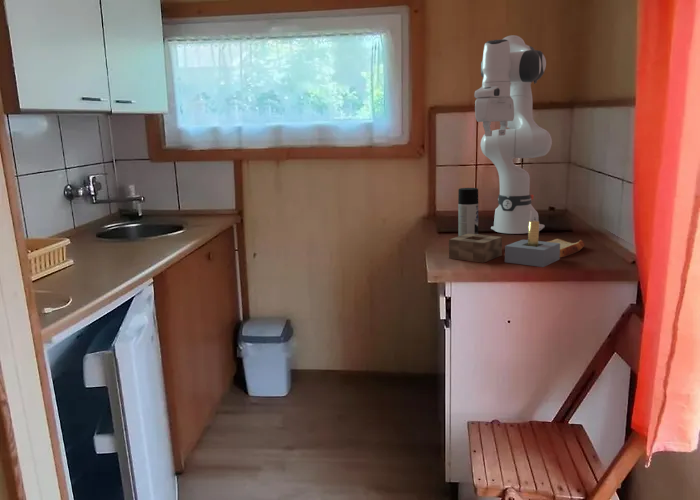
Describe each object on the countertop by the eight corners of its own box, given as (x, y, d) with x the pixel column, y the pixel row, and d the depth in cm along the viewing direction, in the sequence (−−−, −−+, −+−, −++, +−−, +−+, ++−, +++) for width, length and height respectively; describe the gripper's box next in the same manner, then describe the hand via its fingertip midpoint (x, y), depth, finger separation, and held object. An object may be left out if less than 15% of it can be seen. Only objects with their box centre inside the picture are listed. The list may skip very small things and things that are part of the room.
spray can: (478, 248, 195) (478, 189, 191) (457, 248, 196) (458, 189, 192) (478, 244, 201) (478, 187, 197) (458, 244, 203) (458, 187, 198)
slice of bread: (546, 260, 177) (546, 248, 176) (524, 248, 194) (524, 237, 194) (602, 257, 178) (603, 245, 177) (576, 245, 195) (576, 234, 195)
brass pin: (529, 259, 177) (531, 220, 174) (539, 260, 175) (540, 221, 172) (525, 261, 174) (527, 221, 172) (535, 262, 173) (536, 222, 170)
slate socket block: (522, 254, 183) (522, 239, 182) (559, 259, 175) (560, 243, 174) (504, 262, 174) (505, 245, 173) (543, 267, 166) (543, 250, 165)
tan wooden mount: (468, 251, 191) (468, 233, 190) (501, 255, 183) (502, 236, 182) (448, 258, 182) (448, 239, 181) (483, 262, 174) (483, 243, 173)
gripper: (501, 93, 195) (501, 135, 198) (471, 92, 180) (471, 137, 183) (519, 92, 191) (518, 134, 194) (490, 90, 176) (489, 136, 179)
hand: (495, 136), depth 188 cm, fingers open, 8 cm apart
